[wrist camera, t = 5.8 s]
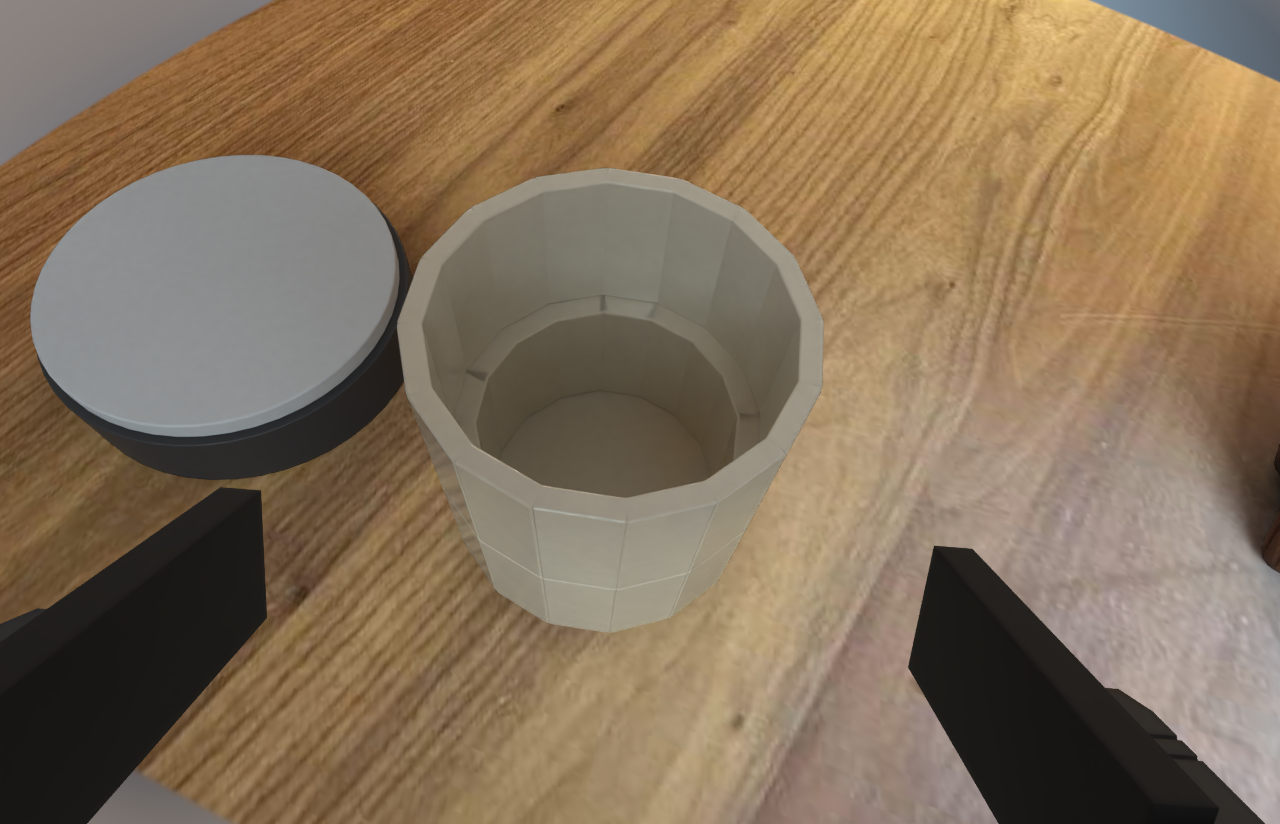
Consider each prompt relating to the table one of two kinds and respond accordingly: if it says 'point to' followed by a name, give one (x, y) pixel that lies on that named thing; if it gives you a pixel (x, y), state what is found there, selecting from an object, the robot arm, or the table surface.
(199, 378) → the scale
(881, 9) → the table surface
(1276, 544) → the decorative turtle
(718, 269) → the faceted beige cup
